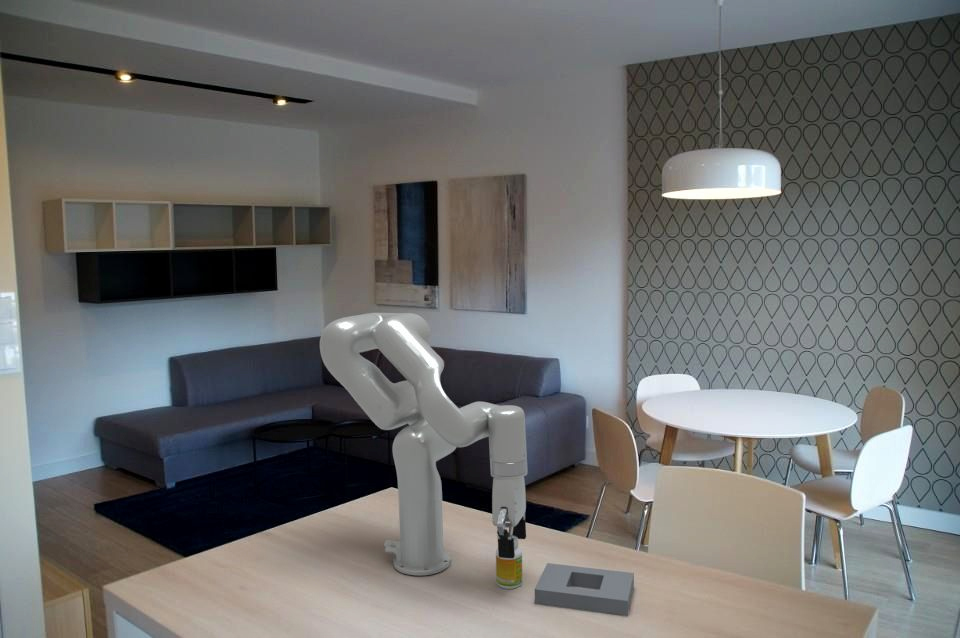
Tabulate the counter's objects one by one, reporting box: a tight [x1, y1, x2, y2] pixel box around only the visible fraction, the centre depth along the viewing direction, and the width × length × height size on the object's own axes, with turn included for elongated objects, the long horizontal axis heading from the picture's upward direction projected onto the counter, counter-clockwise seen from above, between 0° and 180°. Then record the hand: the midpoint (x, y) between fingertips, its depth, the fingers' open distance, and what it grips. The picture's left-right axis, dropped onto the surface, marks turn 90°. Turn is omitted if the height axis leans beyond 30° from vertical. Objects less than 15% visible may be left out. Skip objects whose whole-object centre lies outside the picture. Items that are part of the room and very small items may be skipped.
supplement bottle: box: [495, 535, 523, 590], centre depth 154 cm, size 5×5×10 cm
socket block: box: [534, 562, 635, 617], centre depth 149 cm, size 18×12×3 cm, turn 73°
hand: (512, 547), depth 153 cm, fingers open, 9 cm apart
